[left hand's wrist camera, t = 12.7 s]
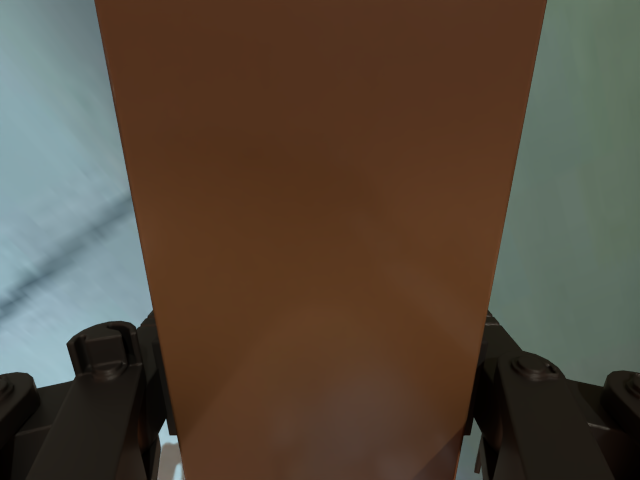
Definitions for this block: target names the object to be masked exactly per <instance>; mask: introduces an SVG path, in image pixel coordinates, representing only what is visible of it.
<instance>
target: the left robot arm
mask: <svg viewBox="0 0 640 480" xmlns="http://www.w3.org/2000/svg"><path fill="white" fill-rule="evenodd" d="M66 345H67V348H68V351H69V355H70V358H71V361H72V365H73V368H74V372H75V375H76V376H75V378H74V380H73V381H69V382H65V383H60V384H56V385H51V386H46V387H42V388H36V385H35V382H34V379H33V377H32V376H30V375H29V374H28V373H20V372H15V373H8V374H2V375H0V480H157V476H158V468H159V460H160V453H161V446H160V440H159V435H158V433H159V431H160V429H161V427H162V425H163V423H164V421H165V419H166V420H167V425H168V430H169V435H177V433H176V427H175V422H174V417H173V412H172V406H171V401H170V396H169V391H168V385H167V380H166V375H165V370H164V364H163V359H162V354H161V348H160V343H159V338H158V333H157V327H156V322H155V317H154V312H153V310H152V312H151V313H150V314H149V315H148V318H146V319H145V320H144V321H143V322H142V324H141V326H140V327H138V328H137V330H136V327H135V326H134V325H133V324H131V323H129V322H124V321H111V322H106V323H101V324H97V325H94V326H92V327H89V328H87V329H84V330H83V331H81V332H79V333H78V334H76V335H75V336H73V337H72V338H71V339H70V340H69V341H68V343H67V344H66ZM473 418H475V420H476V422H477V424H478V426H479V428H480V430H481V432H482V435H481V440H480V444H479V449H478V454H477V459H476V463H475V470H474V472H475V473H478V474H479V473H480V468H481V467H482V475H483V480H640V373H637V372H630V371H624V370H623V371H614V372H612V373H610V374H609V375H608V376H607V378H606V381H605V384H604V387H601V386H597V385H592V384H587V383H582V382H578V381H573V380H569V379H566V378H565V376H564V374H563V373H562V372H561V371H560V369H559V368H558V367H557V366H556V365H554V364H553V363H551V362H550V361H549V360H547V359H545V358H543V357H541V356H538V355H536V354H533V353H529V352H525V351H522V350H521V348H520V347H519V346H518V345H517V344H516V342H515V341H514V340H513V339H512V338H511V337H510V335H509V334H508V333H507V332H506V331H505V329H504V328H503V327H502V326H501V325H499V322H498V321H497V320H496V319H495V318H494V317H492V314H491V313H490V312H489V310H488V311H487V316H486V321H485V326H484V332H483V337H482V342H481V347H480V353H479V358H478V363H477V368H476V373H475V379H474V384H473V389H472V394H471V399H470V405H469V410H468V415H467V420H466V426H465V431H464V435H470V434H471V429H472V424H473Z"/></svg>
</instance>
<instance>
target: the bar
mask: <svg viewBox="0 0 640 480" xmlns="http://www.w3.org/2000/svg"><path fill="white" fill-rule="evenodd" d="M94 1H95V6H96V12H97V17H98V22H99V27H100V33H101V38H102V43H103V48H104V54H105V59H106V64H107V70H108V75H109V80H110V85H111V91H112V96H113V101H114V106H115V112H116V117H117V122H118V127H119V133H120V138H121V143H122V148H123V154H124V159H125V164H126V170H127V175H128V180H129V185H130V191H131V196H132V201H133V206H134V212H135V217H136V222H137V227H138V233H139V238H140V243H141V248H142V254H143V259H144V264H145V270H146V275H147V280H148V285H149V291H150V296H151V301H152V306H153V312H154V317H155V322H156V327H157V333H158V338H159V343H160V348H161V354H162V359H163V364H164V370H165V375H166V380H167V385H168V391H169V396H170V401H171V406H172V412H173V417H174V422H175V427H176V433H177V438H178V443H179V448H180V454H181V459H182V464H183V469H184V475H185V480H455V478H456V473H457V467H458V462H459V457H460V452H461V446H462V441H463V436H464V431H465V426H466V420H467V415H468V410H469V405H470V399H471V394H472V389H473V384H474V379H475V373H476V368H477V363H478V358H479V353H480V347H481V342H482V337H483V332H484V326H485V321H486V316H487V311H488V306H489V300H490V295H491V290H492V285H493V280H494V274H495V269H496V264H497V259H498V253H499V248H500V243H501V238H502V233H503V227H504V222H505V217H506V212H507V207H508V201H509V196H510V191H511V186H512V180H513V175H514V170H515V165H516V160H517V154H518V149H519V144H520V139H521V134H522V128H523V123H524V118H525V113H526V107H527V102H528V97H529V92H530V87H531V81H532V76H533V71H534V66H535V61H536V55H537V50H538V45H539V40H540V34H541V29H542V24H543V19H544V14H545V8H546V3H547V0H94Z"/></svg>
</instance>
